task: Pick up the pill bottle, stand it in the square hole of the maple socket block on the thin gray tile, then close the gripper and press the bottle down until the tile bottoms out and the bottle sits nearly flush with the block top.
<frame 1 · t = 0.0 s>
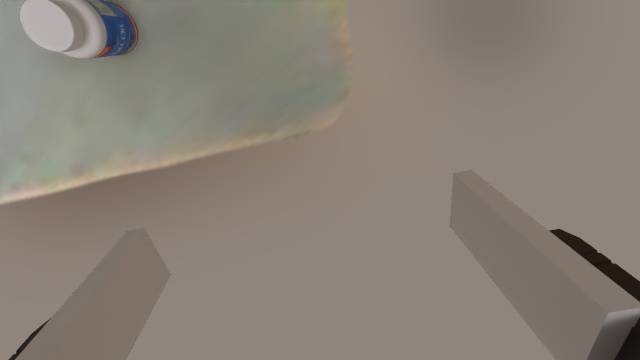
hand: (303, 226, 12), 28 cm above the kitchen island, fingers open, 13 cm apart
pill bottle: (114, 28, 32), on the kitchen island
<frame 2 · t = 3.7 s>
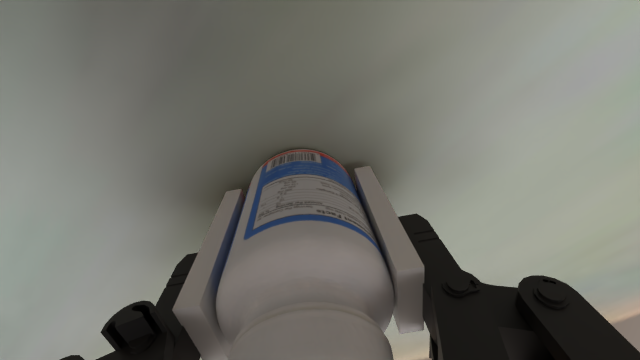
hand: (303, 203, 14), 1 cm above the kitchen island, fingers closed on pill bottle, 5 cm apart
pill bottle: (302, 192, 15), on the kitchen island, touching gripper
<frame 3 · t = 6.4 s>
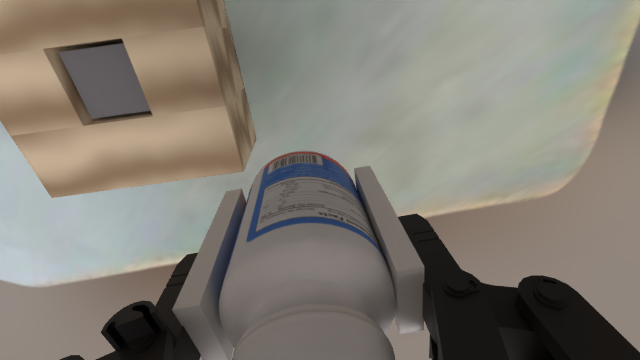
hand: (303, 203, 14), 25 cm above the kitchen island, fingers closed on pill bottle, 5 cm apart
socket block: (153, 70, 33), on the kitchen island
thin gray tile: (111, 81, 26), point 8 cm above the kitchen island, slide at 0.0 cm
pill bottle: (304, 193, 15), point 24 cm above the kitchen island, touching gripper
when the fingers open (12 cm above the kitchen island, at t = 9.6 s): pill bottle drops 9 cm, resting on thin gray tile.
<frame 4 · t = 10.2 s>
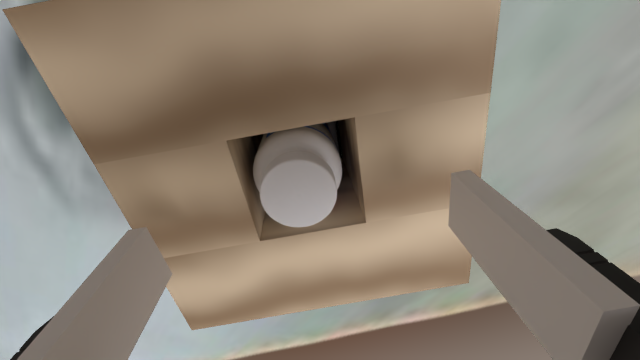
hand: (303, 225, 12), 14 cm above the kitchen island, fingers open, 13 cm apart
socket block: (300, 130, 24), on the kitchen island
thin gray tile: (301, 133, 24), point 1 cm above the kitchen island, slide at -7.6 cm, touching pill bottle
pill bottle: (298, 137, 23), point 1 cm above the kitchen island, touching thin gray tile
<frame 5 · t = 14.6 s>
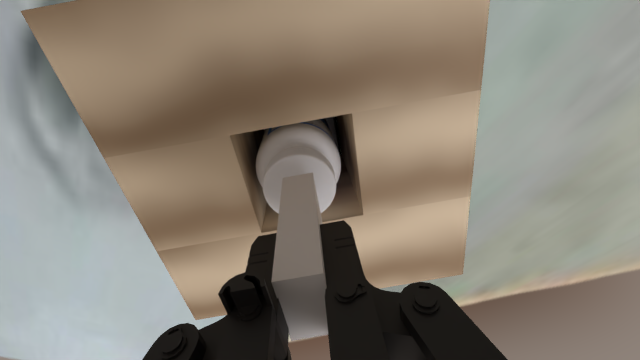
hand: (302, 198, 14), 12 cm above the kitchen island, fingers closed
socket block: (300, 127, 25), on the kitchen island
thin gray tile: (301, 130, 24), point 1 cm above the kitchen island, slide at -7.5 cm, touching pill bottle
pill bottle: (298, 134, 24), point 1 cm above the kitchen island, touching thin gray tile
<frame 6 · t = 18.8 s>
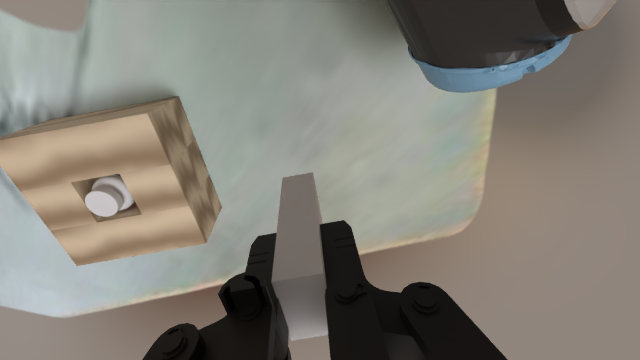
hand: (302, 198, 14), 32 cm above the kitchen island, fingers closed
socket block: (143, 167, 47), on the kitchen island
pill bottle: (138, 172, 46), point 1 cm above the kitchen island, touching thin gray tile
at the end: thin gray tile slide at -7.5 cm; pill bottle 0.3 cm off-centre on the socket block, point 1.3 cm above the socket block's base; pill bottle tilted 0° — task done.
